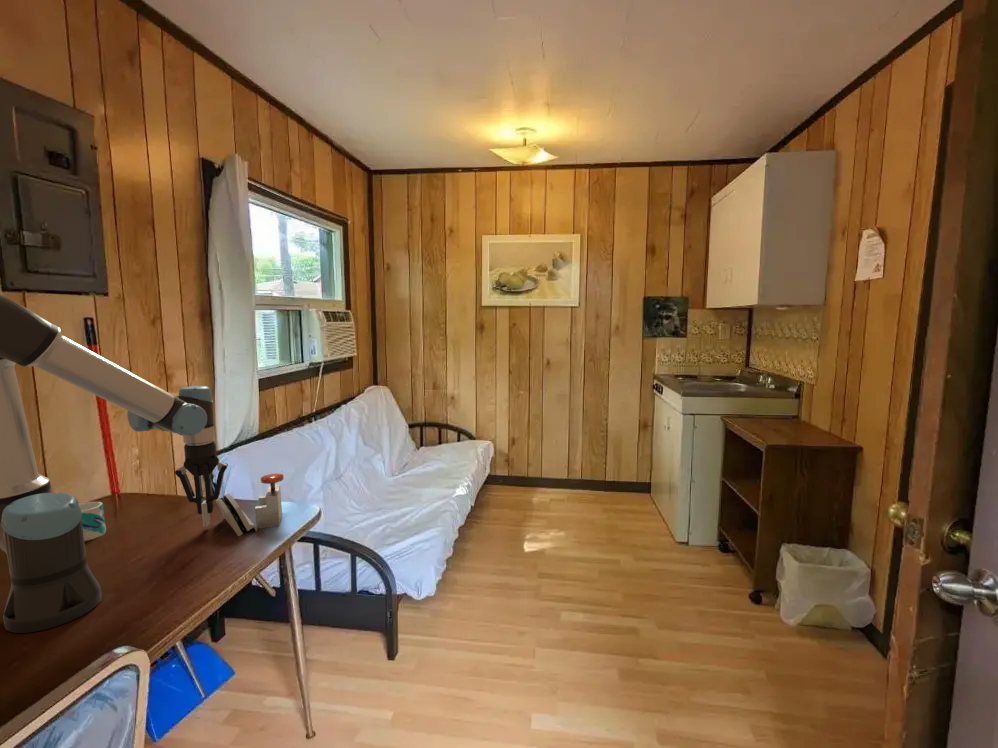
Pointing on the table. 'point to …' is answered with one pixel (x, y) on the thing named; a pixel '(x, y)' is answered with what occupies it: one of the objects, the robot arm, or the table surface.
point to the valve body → (269, 503)
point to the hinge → (234, 514)
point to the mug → (92, 520)
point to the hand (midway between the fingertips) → (206, 524)
